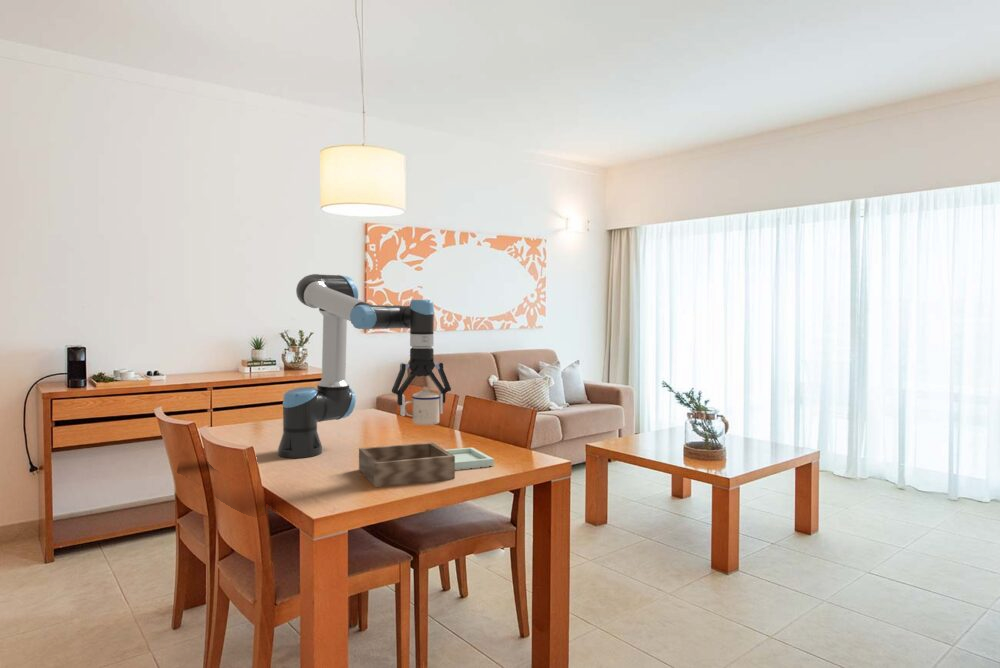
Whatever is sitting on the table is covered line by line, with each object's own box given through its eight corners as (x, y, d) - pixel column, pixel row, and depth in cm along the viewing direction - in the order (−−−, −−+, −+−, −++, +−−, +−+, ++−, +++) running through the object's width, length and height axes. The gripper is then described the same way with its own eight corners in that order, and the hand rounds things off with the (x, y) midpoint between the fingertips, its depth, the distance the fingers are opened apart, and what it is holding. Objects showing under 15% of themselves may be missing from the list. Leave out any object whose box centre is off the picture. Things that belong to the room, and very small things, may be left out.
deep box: (374, 487, 186) (374, 463, 186) (358, 469, 206) (358, 448, 206) (454, 478, 196) (454, 456, 196) (432, 462, 216) (432, 442, 216)
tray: (448, 470, 206) (448, 463, 206) (430, 458, 223) (430, 451, 223) (493, 466, 212) (493, 458, 212) (472, 454, 230) (472, 447, 230)
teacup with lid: (436, 419, 211) (437, 385, 210) (442, 424, 202) (443, 388, 202) (400, 421, 207) (400, 386, 207) (405, 426, 199) (405, 389, 198)
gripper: (387, 348, 196) (387, 418, 197) (461, 347, 205) (460, 413, 206) (382, 347, 203) (382, 414, 203) (453, 346, 212) (453, 410, 213)
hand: (421, 414), depth 205 cm, fingers closed on teacup with lid, 12 cm apart
